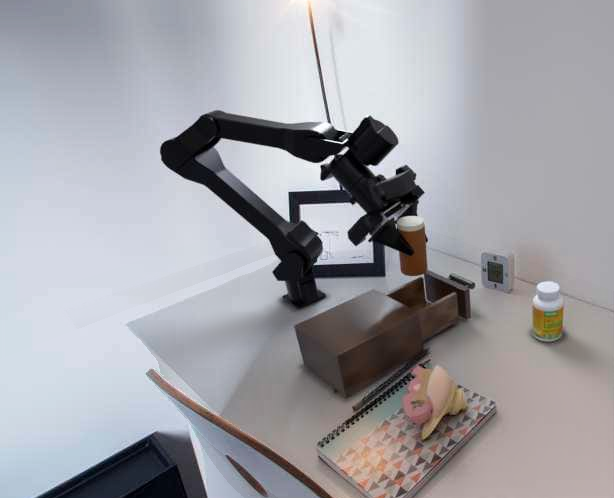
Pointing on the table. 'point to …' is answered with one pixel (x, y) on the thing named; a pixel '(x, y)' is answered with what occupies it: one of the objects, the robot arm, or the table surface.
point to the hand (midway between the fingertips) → (419, 248)
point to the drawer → (436, 300)
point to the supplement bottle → (548, 312)
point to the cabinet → (359, 341)
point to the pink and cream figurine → (431, 398)
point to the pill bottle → (413, 245)
